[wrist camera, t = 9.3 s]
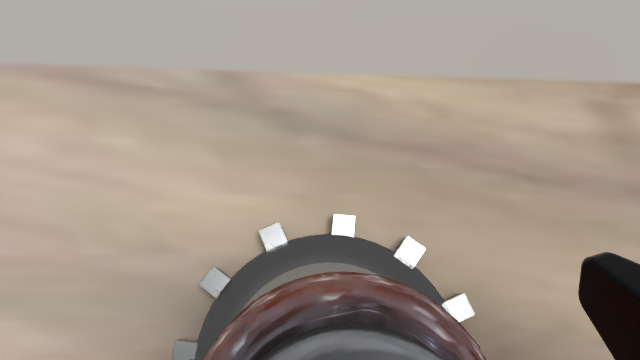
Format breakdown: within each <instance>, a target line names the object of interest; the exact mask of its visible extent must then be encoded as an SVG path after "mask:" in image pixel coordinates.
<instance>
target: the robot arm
mask: <svg viewBox="0 0 640 360" xmlns="http://www.w3.org/2000/svg"><path fill="white" fill-rule="evenodd" d="M578 293H579V300H580V303H581V305H582V307H583V309H584V310H585V312H586V314H587V315H588V317H589V318H590V320H591V322H592V323H593V325H594V326H595V328H596V330H597V331H598V333H599V335H600V336H601V338H602V339H603V341H604V343H605V344H606V346H607V347H608V349H609V351H610V352H611V354H612V355H613V357H614V359H615V360H640V264H638V263H635V262H633V261H630V260H628V259H626V258H623V257H621V256H618V255H616V254H613V253H609V252H605V253H601V254H597V255H594V256H591V257H587V258H585V259H584V261H583V262H582V266H581V274H580V283H579V291H578Z"/></svg>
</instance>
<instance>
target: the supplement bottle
mask: <svg viewBox="0 0 640 360" xmlns="http://www.w3.org/2000/svg"><path fill="white" fill-rule="evenodd" d="M203 360H486V358H485V357H484V355H483V354H482V352H481V350H480V346H479V345H478V344H477V343H476V342H475V341H474V339H473V338H472V337H471V336H470V335H469V333H468V332H467V331H466V330H465V328H464V327H463V326H462V325H461V324H460V323H459V322H458V320H456V319H455V318H454V317H453V316H452V315H451V314H449V313H448V312H447V311H446V310H445V309H444V308H443V307H442V306H440V305H439V304H437V303H436V302H435V301H433V300H432V299H430V298H429V297H428V296H427V295H426V294H424V293H422V292H419V291H418V290H416V289H414V288H412V287H410V286H408V285H406V284H402V283H400V282H399V281H396V280H392V279H389V278H386V277H384V276H379V275H372V274H367V273H358V272H346V271H342V272H327V273H319V274H314V275H309V276H305V277H302V278H298V279H295V280H292V281H290V282H287V283H285V284H283V285H280V286H278V287H276V288H274V289H272V290H271V291H269V292H267V293H266V294H263V295H261V296H260V297H259V298H257V299H256V300H254V301H253V302H251V303H250V304H249V305H248V306H247V307H246V308H245V309H243V310H242V311H241V312H240V313H239V314H238V315H237V316H235V317H234V319H233V320H232V321H231V322H230V323H229V324H228V325H227V326H226V327H225V328H224V330H223V331H222V333H221V334H220V335H219V337H218V338H217V339H216V340H215V341H214V343H213V345H212V346H211V348H210V349H209V351H208V352H207V354H206V356H205V358H204V359H203Z"/></svg>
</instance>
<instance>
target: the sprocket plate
mask: <svg viewBox="0 0 640 360" xmlns="http://www.w3.org/2000/svg"><path fill="white" fill-rule="evenodd" d="M355 218H356V216H352V215H343V214H333V221H332V231H331V235H315V236H307V237H303V238H298V239H294V240H291V241H288V242H287V239H286V237H285V235H284V233H283V230H282V228H281V226H280V223H279V222H278V223H275V224H273V225H271V226H268V227H266V228H264V229H262V230H259V234H260V236H261V238H262V241H263V243H264V246H265V248H266V250H267V251H265V252H263V253H262V254H260V255H259V256H257V257H256V258H254V259H253V260H252V261H250V262H249V263H247V264H246V265H245V266H244V267H243V268H242V269H241V270H240V271H238V272H237V273H236V274H235V275H234V276H233V277H232V279H231V278H230V277H229V276H227V275H226V274H225V273H223V272H222V271H221V270H219V269H218V268H216V267H213V268H212V269H211V270H210V271H209V273H208V274H207V275H206V277H205V278H204V279H203V281H202V282H201V283H200V284H199V286H201V287H202V288H203V289H205V290H206V291H207V292H208V293H210V294H211V295H212V296H214V297H215V298H216V300H215V301H214V303H213V305H212V307H211V309H210V311H209V313H208V315H207V317H206V319H205V321H204V324H203V327H202V330H201V332H200V335H199V339H198V341H192V340H183V339H180V340H176V341H175V344H174V350H173V356H172V360H203V359H204V358H205V356H206V354H207V352H208V351H209V349H210V348H211V346H212V345H213V343H214V341H215V340H216V339H217V338H218V337H219V335H220V334H221V333H222V331H223V330H224V328H225V327H226V326H227V325H228V324H229V323H230V322H231V321H232V320H233V319H234V317H235V316H237V315H238V314H239V313H240V312H241V311H242V310H243V309H245V308H246V307H247V306H248V305H249V304H250V303H251V302H253V301H254V300H256V299H257V298H259V297H260V296H261V295H263V294H266V293H267V292H269V291H271V290H272V289H274V288H276V287H278V286H280V285H283V284H285V283H287V282H290V281H292V280H295V279H298V278H302V277H305V276H309V275H314V274H319V273H327V272H342V271H346V272H358V273H367V274H372V275H379V276H384V277H386V278H389V279H392V280H396V281H399V282H400V283H402V284H406V285H408V286H410V287H412V288H414V289H416V290H418V291H419V292H422V293H424V294H426V295H427V296H428V297H429V298H430V299H432V300H433V301H435V302H436V303H437V304H439V305H440V306H442V307H443V308H444V309H445V310H446V311H447V312H448V313H449V314H451V315H452V316H453V317H454V318H455V319H456V320H458V322H461V321H463V320H465V319H467V318H470V317H472V316H474V315H475V313H474V311H473V309H472V307H471V305H470V303H469V301H468V299H467V297H466V295H465V293H461V294H457V295H454V296H452V297H450V298H448V299H446V300H443V298H442V297H441V296H440V294H439V293H438V291H437V290H436V289H435V287H434V286H433V285H432V283H431V282H430V281H429V280H428V279H427V278H426V277H425V276H424V275H423V274H422V273H421V272H420V271H419V270H418V269H417V268H416V267H414V266H415V265H416V264H417V262H418V261H419V259H420V258H421V256H422V255H423V253H424V252H425V250H426V248H425V247H423V246H422V245H420V244H419V243H418V242H416V241H415V240H413V239H412V238H410V237H409V236H407V237H405V238H404V239H403V241H402V242H401V244H400V245H399V246H398V248H397V249H396V251H395V252H393V251H392V250H390V249H387V248H385V247H383V246H381V245H379V244H376V243H374V242H370V241H367V240H364V239H361V238H356V237H354V229H355Z"/></svg>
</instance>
